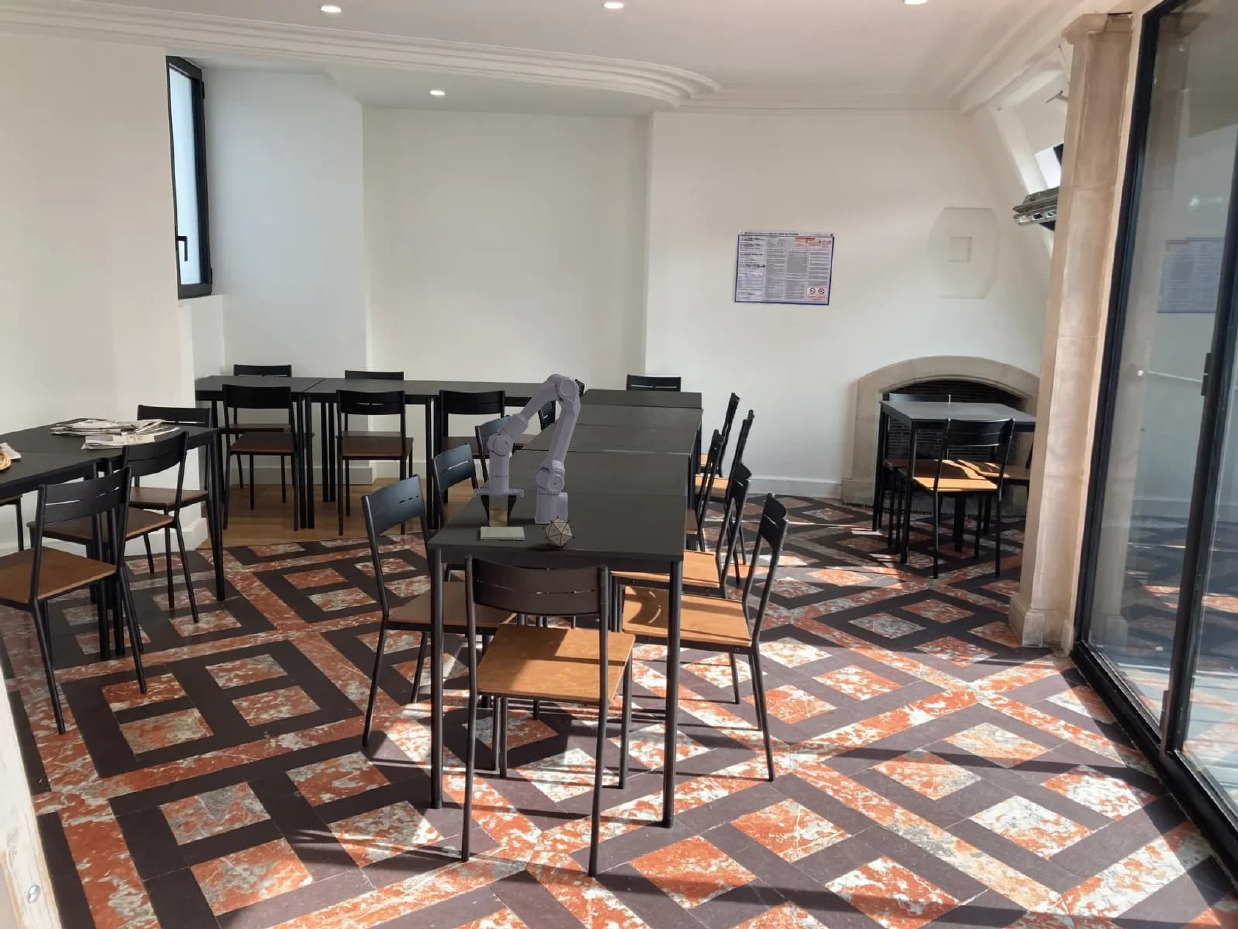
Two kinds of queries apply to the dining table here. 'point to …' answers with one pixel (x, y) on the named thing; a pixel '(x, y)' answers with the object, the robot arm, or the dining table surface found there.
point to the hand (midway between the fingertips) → (498, 520)
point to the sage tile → (502, 533)
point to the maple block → (498, 516)
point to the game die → (558, 532)
